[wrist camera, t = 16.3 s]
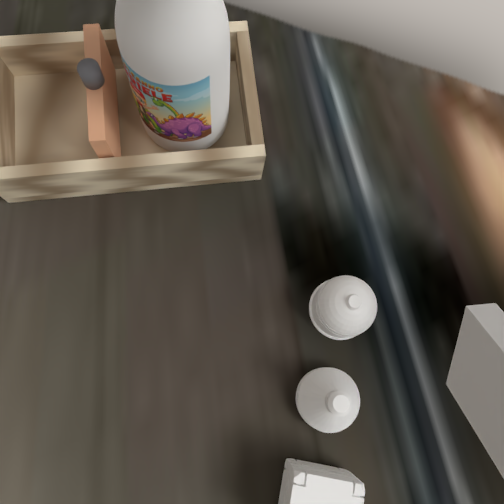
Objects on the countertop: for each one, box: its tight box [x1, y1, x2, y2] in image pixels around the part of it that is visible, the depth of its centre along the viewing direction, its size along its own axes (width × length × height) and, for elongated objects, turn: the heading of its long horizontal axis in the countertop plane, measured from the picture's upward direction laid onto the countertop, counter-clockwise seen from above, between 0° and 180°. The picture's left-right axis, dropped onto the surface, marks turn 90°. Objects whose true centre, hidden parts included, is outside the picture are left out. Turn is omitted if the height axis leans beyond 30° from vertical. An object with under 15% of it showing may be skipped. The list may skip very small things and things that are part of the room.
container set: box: [278, 275, 377, 504], centre depth 36 cm, size 20×5×6 cm, turn 169°
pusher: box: [77, 24, 121, 158], centre depth 38 cm, size 2×10×8 cm, turn 7°
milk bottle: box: [115, 0, 230, 152], centre depth 33 cm, size 8×8×20 cm
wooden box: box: [0, 21, 266, 203], centre depth 39 cm, size 22×13×7 cm, turn 97°
